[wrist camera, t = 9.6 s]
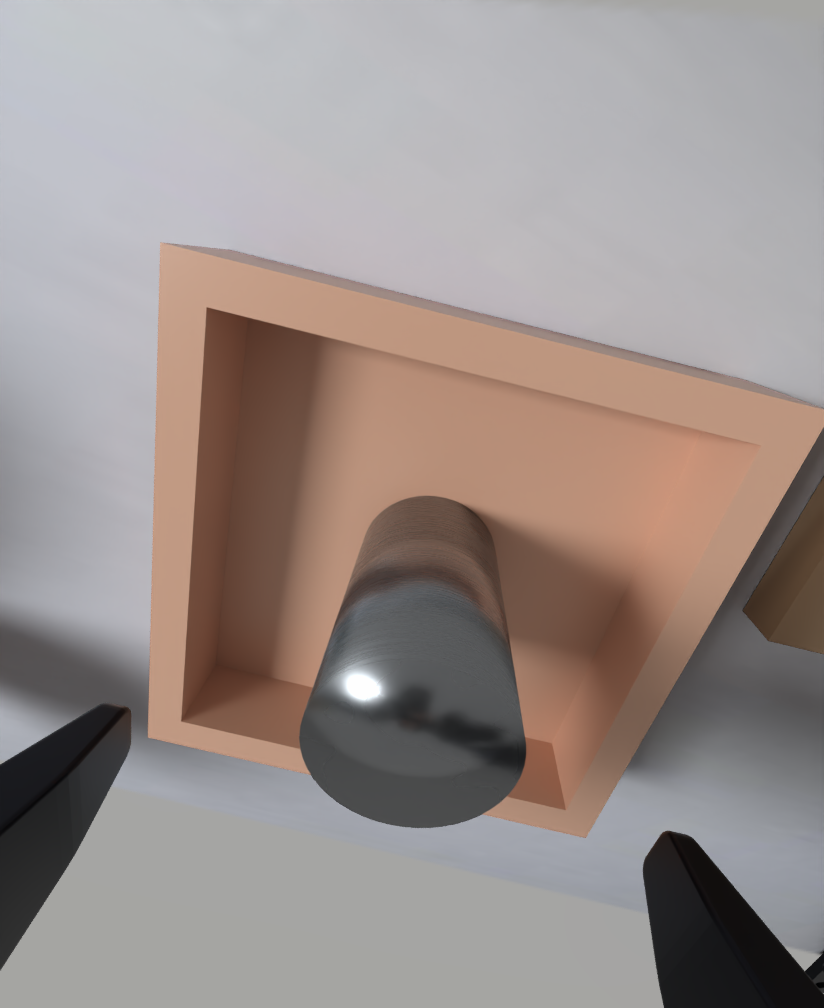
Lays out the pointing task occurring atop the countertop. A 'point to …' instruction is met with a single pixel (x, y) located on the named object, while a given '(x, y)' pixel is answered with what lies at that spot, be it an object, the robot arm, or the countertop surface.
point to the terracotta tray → (444, 473)
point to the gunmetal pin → (418, 675)
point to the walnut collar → (795, 584)
